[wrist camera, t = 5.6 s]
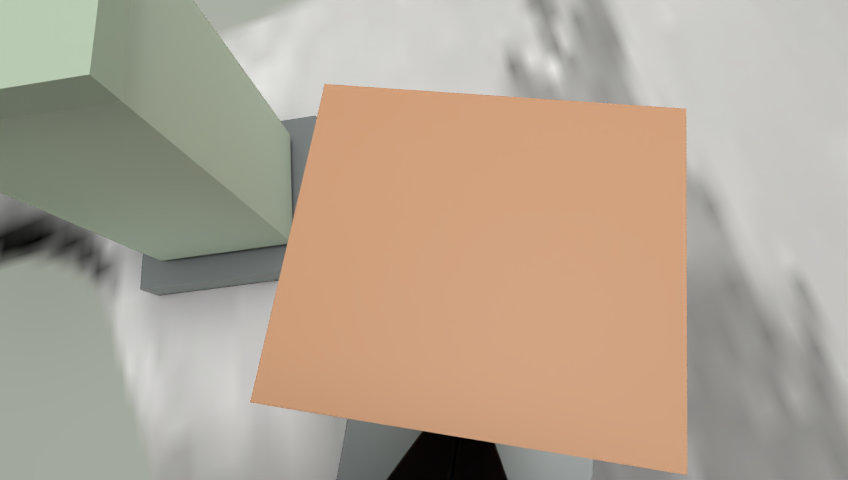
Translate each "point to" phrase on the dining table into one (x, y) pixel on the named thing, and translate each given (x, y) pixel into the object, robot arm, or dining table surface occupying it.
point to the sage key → (139, 127)
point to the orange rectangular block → (490, 273)
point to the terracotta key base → (386, 445)
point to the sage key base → (234, 263)
